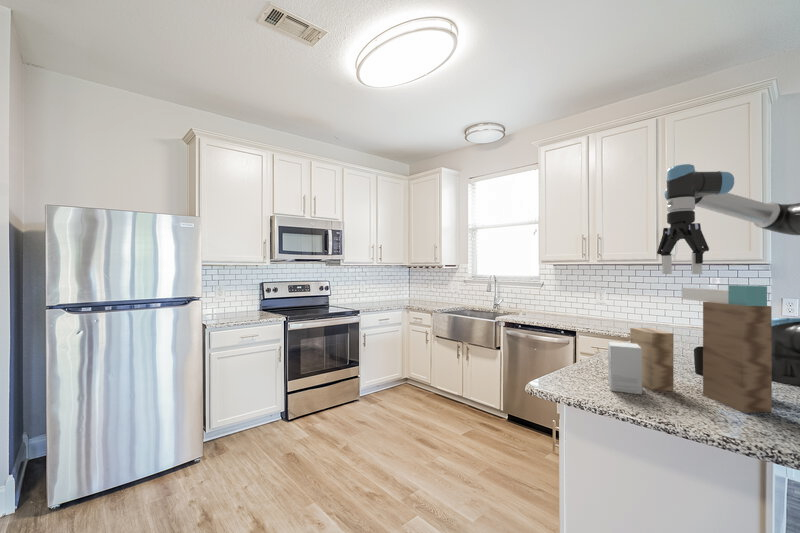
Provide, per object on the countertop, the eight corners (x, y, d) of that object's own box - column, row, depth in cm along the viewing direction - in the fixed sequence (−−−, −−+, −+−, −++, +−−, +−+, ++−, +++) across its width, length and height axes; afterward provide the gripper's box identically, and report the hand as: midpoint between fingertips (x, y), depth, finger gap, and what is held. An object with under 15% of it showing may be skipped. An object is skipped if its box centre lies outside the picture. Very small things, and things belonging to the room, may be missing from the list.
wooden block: (649, 380, 134) (649, 327, 134) (673, 390, 122) (673, 333, 122) (630, 379, 134) (630, 327, 134) (652, 390, 122) (652, 333, 122)
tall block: (728, 395, 117) (728, 302, 118) (771, 412, 103) (771, 306, 104) (703, 395, 118) (703, 301, 118) (742, 411, 104) (742, 305, 104)
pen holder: (687, 371, 146) (687, 346, 147) (710, 371, 147) (710, 346, 147) (708, 378, 137) (708, 351, 137) (732, 378, 137) (732, 351, 138)
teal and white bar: (679, 298, 130) (679, 283, 130) (695, 299, 130) (695, 283, 130) (746, 305, 104) (746, 286, 104) (767, 306, 104) (767, 286, 104)
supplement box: (638, 387, 125) (638, 343, 125) (642, 395, 117) (642, 348, 117) (607, 383, 129) (607, 340, 129) (610, 390, 121) (610, 345, 121)
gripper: (645, 217, 137) (646, 273, 137) (698, 204, 112) (698, 274, 112) (666, 217, 137) (666, 273, 136) (723, 204, 112) (724, 274, 111)
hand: (681, 274), depth 124 cm, fingers open, 13 cm apart
